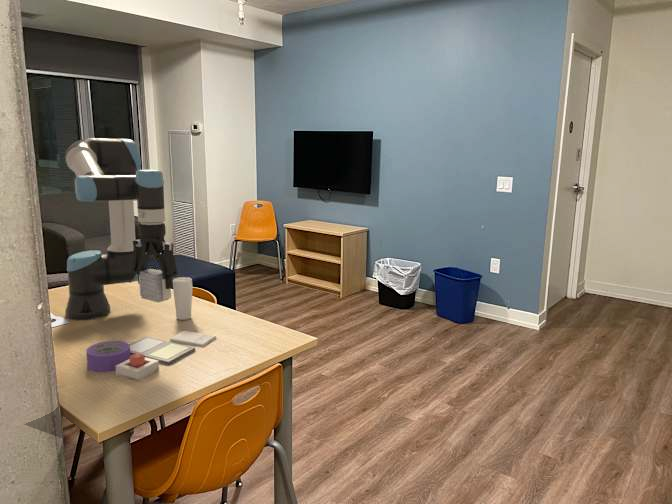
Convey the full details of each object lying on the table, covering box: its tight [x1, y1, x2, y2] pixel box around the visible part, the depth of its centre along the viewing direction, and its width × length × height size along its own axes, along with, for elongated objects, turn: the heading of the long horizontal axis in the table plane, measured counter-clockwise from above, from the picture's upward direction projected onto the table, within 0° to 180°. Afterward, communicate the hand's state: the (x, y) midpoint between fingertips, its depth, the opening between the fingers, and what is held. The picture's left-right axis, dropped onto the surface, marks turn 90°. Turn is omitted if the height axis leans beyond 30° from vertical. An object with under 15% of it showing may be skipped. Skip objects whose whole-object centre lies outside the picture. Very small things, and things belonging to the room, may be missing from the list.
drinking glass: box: [172, 276, 193, 321], centre depth 187 cm, size 7×7×15 cm
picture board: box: [128, 336, 196, 366], centre depth 159 cm, size 20×12×1 cm, turn 66°
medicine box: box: [140, 268, 170, 303], centre depth 153 cm, size 8×4×9 cm, turn 56°
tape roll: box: [86, 340, 131, 373], centre depth 149 cm, size 12×12×5 cm
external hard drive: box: [169, 330, 217, 348], centre depth 169 cm, size 2×8×12 cm
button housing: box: [115, 357, 160, 382], centre depth 144 cm, size 8×8×3 cm
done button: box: [129, 354, 145, 368], centre depth 143 cm, size 4×4×3 cm
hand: (155, 296), depth 154 cm, fingers closed on medicine box, 8 cm apart
